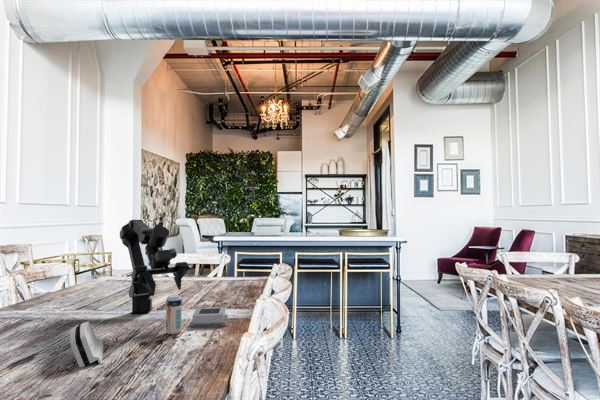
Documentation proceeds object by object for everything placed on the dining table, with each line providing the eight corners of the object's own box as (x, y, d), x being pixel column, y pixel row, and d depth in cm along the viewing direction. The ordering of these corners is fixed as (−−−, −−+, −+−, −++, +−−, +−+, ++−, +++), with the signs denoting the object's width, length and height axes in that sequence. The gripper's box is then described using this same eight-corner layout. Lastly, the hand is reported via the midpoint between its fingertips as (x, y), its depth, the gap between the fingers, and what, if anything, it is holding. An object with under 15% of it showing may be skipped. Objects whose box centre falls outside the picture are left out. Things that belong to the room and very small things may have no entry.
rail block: (189, 328, 129) (189, 316, 129) (194, 318, 141) (194, 307, 141) (225, 326, 131) (225, 314, 131) (227, 317, 143) (227, 306, 143)
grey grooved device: (101, 364, 99) (87, 329, 97) (81, 373, 97) (67, 338, 95) (103, 344, 114) (91, 314, 112) (86, 352, 112) (74, 321, 110)
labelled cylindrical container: (168, 330, 126) (168, 294, 127) (182, 330, 127) (183, 294, 127) (164, 335, 122) (164, 297, 122) (179, 334, 122) (179, 297, 123)
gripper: (134, 242, 128) (144, 279, 119) (186, 240, 140) (199, 273, 131) (127, 263, 134) (136, 300, 125) (178, 259, 146) (190, 292, 137)
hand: (166, 290), depth 130 cm, fingers open, 9 cm apart
